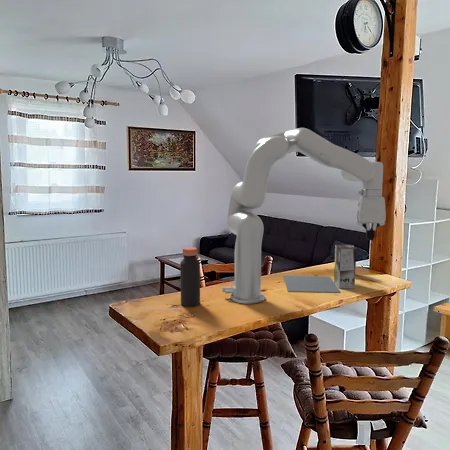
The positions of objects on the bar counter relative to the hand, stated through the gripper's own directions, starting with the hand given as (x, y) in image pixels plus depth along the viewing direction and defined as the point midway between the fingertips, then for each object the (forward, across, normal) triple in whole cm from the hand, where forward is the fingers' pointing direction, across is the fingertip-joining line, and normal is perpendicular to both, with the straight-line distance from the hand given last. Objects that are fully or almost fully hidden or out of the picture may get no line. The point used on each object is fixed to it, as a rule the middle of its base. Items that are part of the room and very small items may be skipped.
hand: (370, 239), depth 168 cm
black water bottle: (+18, -69, -26) cm, 76 cm away
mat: (+18, -23, +1) cm, 30 cm away
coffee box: (+19, -10, 0) cm, 21 cm away
